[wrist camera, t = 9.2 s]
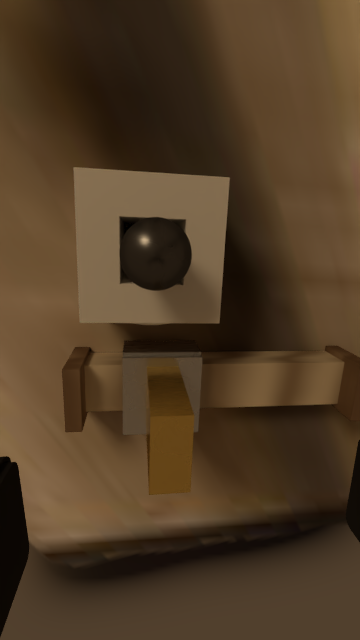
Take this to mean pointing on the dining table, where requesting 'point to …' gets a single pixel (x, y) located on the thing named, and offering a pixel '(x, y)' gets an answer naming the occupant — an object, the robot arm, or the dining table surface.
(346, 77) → the dining table surface
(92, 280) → the housing
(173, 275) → the plunger
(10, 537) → the robot arm
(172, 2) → the dining table surface
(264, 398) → the rail
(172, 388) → the carriage
